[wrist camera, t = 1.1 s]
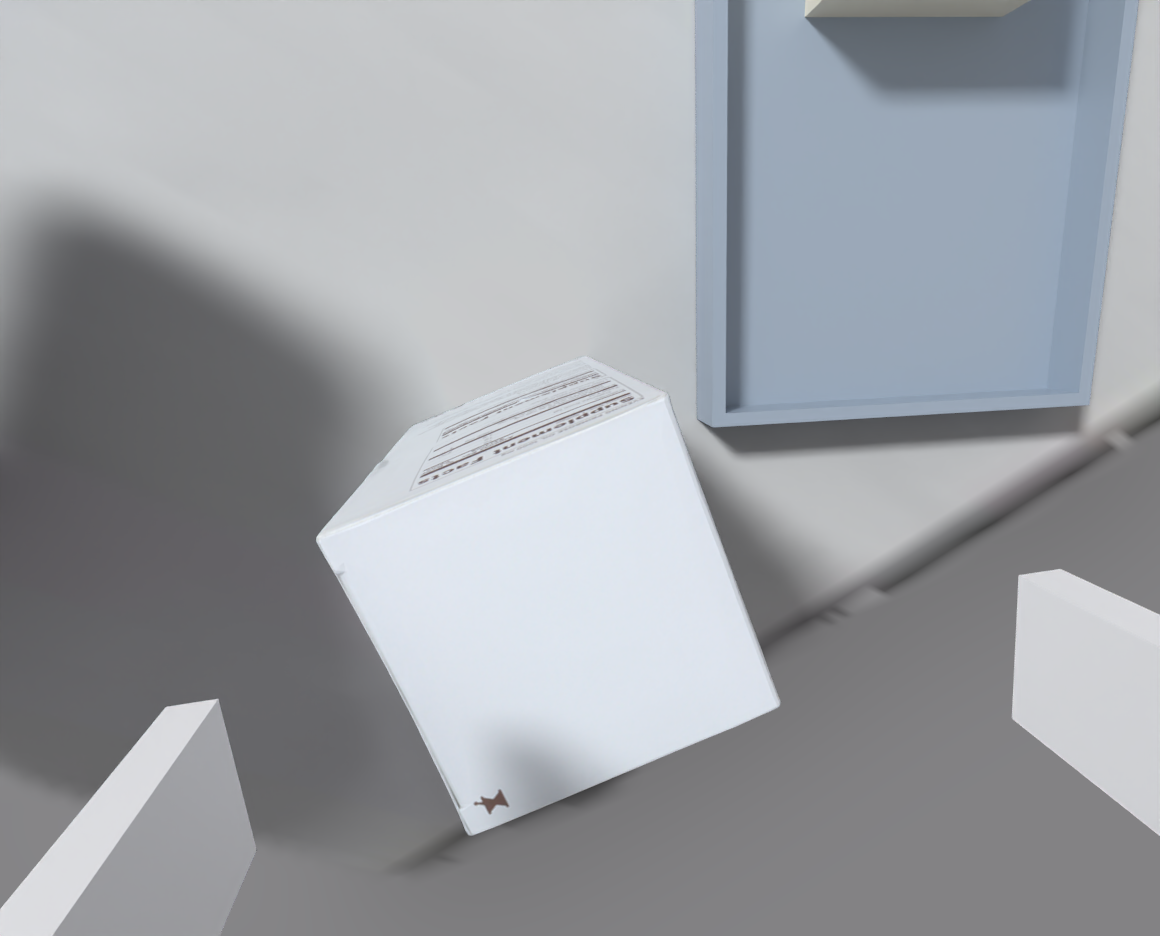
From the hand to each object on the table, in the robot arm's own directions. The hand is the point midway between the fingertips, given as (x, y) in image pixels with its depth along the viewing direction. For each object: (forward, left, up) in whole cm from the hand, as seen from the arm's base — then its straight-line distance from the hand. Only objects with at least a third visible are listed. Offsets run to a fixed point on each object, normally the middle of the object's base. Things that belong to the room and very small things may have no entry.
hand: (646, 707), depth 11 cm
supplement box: (-1, -1, -23) cm, 23 cm away
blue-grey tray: (+16, +14, -23) cm, 31 cm away
